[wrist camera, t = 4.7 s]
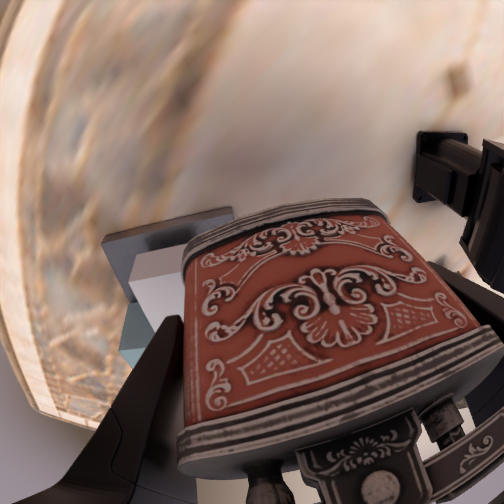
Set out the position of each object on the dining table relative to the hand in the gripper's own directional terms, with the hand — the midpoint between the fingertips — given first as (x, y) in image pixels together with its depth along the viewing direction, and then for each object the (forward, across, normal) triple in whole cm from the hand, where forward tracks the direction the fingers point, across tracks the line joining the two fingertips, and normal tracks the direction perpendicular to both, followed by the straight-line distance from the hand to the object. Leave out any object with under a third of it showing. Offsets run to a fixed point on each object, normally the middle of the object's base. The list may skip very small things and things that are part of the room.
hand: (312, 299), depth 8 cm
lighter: (+3, 0, 0) cm, 3 cm away
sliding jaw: (+11, +7, +8) cm, 15 cm away
